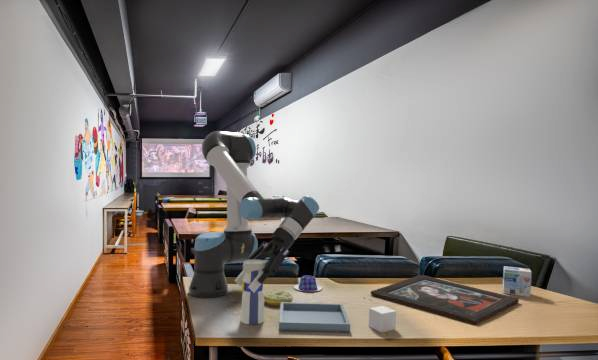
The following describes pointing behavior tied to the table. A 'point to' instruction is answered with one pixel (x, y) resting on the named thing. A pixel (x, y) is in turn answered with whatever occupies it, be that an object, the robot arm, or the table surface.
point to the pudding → (308, 284)
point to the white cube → (382, 318)
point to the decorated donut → (277, 297)
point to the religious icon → (447, 298)
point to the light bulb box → (517, 281)
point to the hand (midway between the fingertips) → (244, 286)
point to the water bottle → (252, 293)
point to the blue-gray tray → (313, 317)
